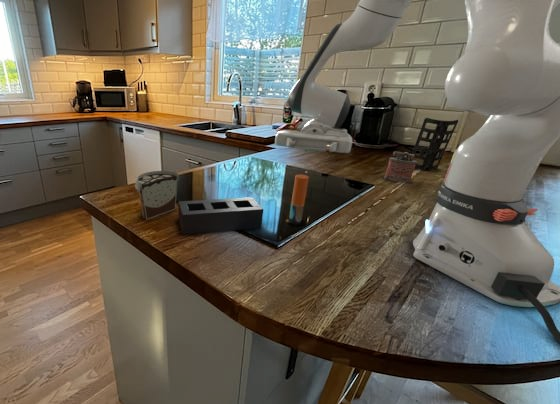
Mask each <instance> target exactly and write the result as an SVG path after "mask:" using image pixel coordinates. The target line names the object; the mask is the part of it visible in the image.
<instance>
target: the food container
mask: <svg viewBox="0 0 560 404" xmlns="http://www.w3.org/2000/svg"><path fill="white" fill-rule="evenodd" d="M179 181H180V176H179V173H178V172H176V171H170V170H153V171H147V172H144V173H141V174H139V175H137V177H136V180H135V184H134V185H135V186H134V188H135V190H136V191H138V196H139V200H140V208H141V213H142V218H143V219H145V220H146V221H148V220H150V219H151V220H152V219H153V218H156V217H159V216H162V215H165V214H167V213H170V212H173V211H176V208H177V195H178V194H177V193H178V182H179Z"/></svg>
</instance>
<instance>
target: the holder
mask: <svg viewBox="0 0 560 404" xmlns="http://www.w3.org/2000/svg"><path fill="white" fill-rule="evenodd" d="M458 123H459V119H454V120H441V119H434V118H430V117H425V118H424V119H423V122H422V125H421V127H420V130H419V133H418V136H417V137H416V138H417V139H416V141H415V144H414V147H413V149H412V152H411V154H414V158H413V159H419V160H422V162H421V163H420V162H417V163H416V164H415V167H414V168H416V169H421V171H428V172H429V171H431V170H436V169H439V165H440V163H441V161H442V159H443V156H444V154H445V151H446V149H447V147H448V145H449V144H450V140H452V139H451V138H452V136H453V134H454V132H455V130H456V127H457V125H458ZM427 124H432V125H435V128H434V129H431V128H426V127H427ZM449 126H453V127H452V129H451V130H448V128H449ZM424 133H426V135H425V137H423V134H424ZM431 134H432V136H431ZM430 137H431V138H430ZM421 141H422V142H424V143H429V144H428V146H427V147H425V146H421V145H420V143H421ZM443 144H445V145H444V147H442V148H441V146H442V145H443ZM417 150H419V154H416V153H417ZM424 153H425V155H424ZM436 161H437V163H436V164H434V163H435V162H436Z"/></svg>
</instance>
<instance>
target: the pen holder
mask: <svg viewBox="0 0 560 404" xmlns="http://www.w3.org/2000/svg"><path fill="white" fill-rule="evenodd" d="M177 212H178V213H177V214H178V219H177V220H178V223H179V227H180V230H181V233H182V236H183V235H194V234H195V235H196V234H206V233H219V232H231V231H233V232H234V231H245V230H259V229H262V224H263V215H264V208H263V207H262V206H261V205H260V204H259V203H258V202H257V201H256V200H255V198H254V197H253V196H249V197H234V198H217V199H216V198H215V199H214V198H213V199H201V200H200V199H199V200H198V199H197V200H183V201H180V200H179V201H178V202H177Z"/></svg>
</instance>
